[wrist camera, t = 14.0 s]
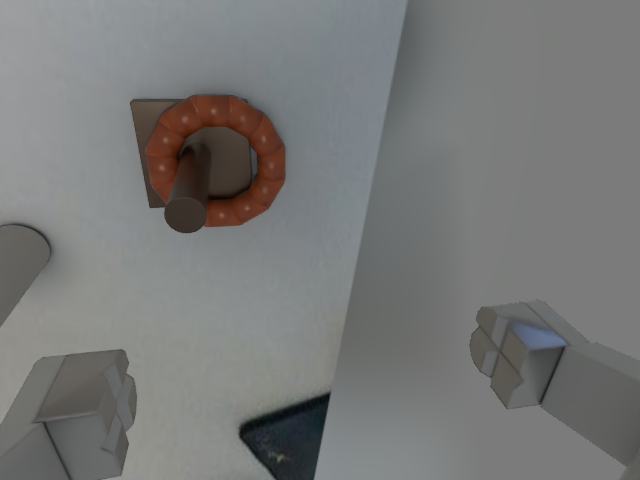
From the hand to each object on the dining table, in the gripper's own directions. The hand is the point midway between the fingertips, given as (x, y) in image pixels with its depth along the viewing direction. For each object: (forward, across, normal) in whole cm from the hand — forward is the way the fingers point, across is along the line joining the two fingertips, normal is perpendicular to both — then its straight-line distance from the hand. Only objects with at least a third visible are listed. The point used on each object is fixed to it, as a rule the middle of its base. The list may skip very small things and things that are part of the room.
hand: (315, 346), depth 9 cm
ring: (+27, +3, +4) cm, 27 cm away
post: (+29, +5, +4) cm, 30 cm away
